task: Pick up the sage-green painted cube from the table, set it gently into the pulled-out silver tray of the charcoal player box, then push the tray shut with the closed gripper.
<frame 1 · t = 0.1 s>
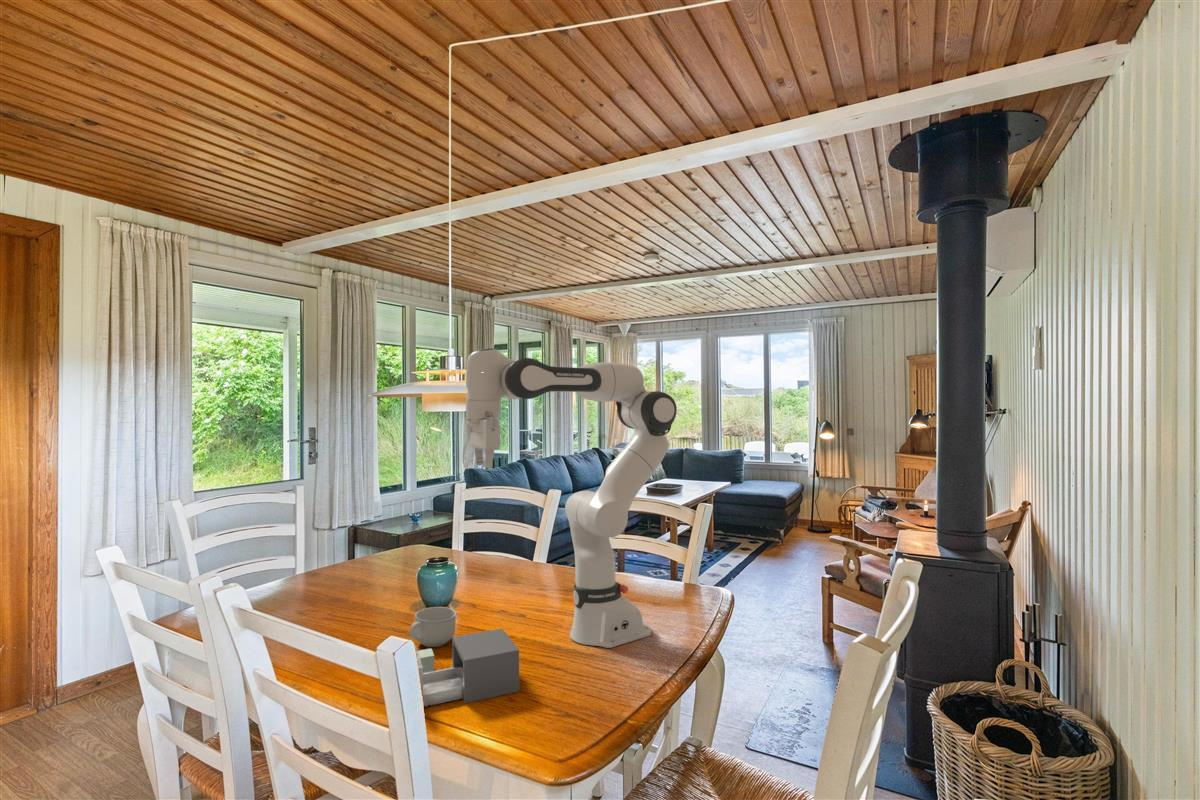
hand: (483, 466, 143), 48 cm above the table, fingers open, 8 cm apart
tray: (441, 671, 124), point 5 cm above the table, slide at 8.0 cm
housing: (484, 683, 128), on the table
teacup: (430, 645, 150), on the table
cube: (423, 672, 134), on the table
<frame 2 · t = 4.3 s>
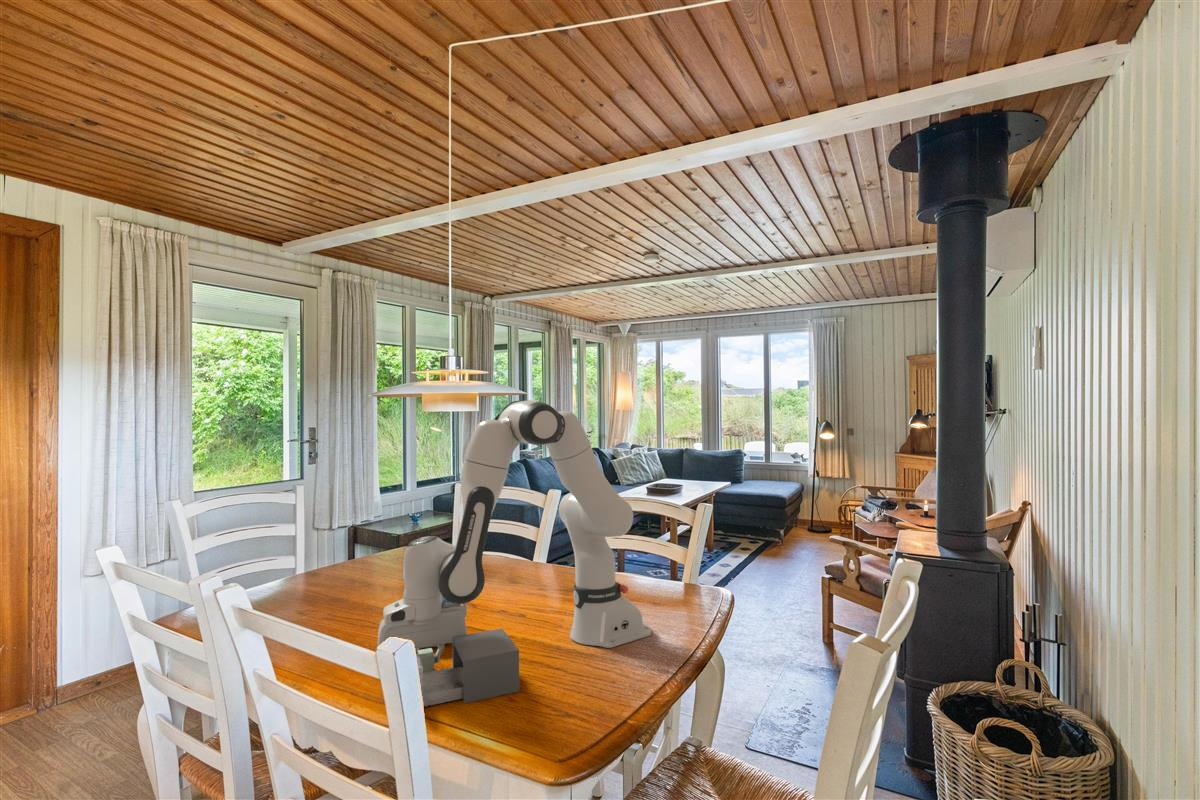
hand: (423, 664, 134), 2 cm above the table, fingers closed on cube, 4 cm apart
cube: (423, 672, 134), on the table, touching gripper
everything else where it was.
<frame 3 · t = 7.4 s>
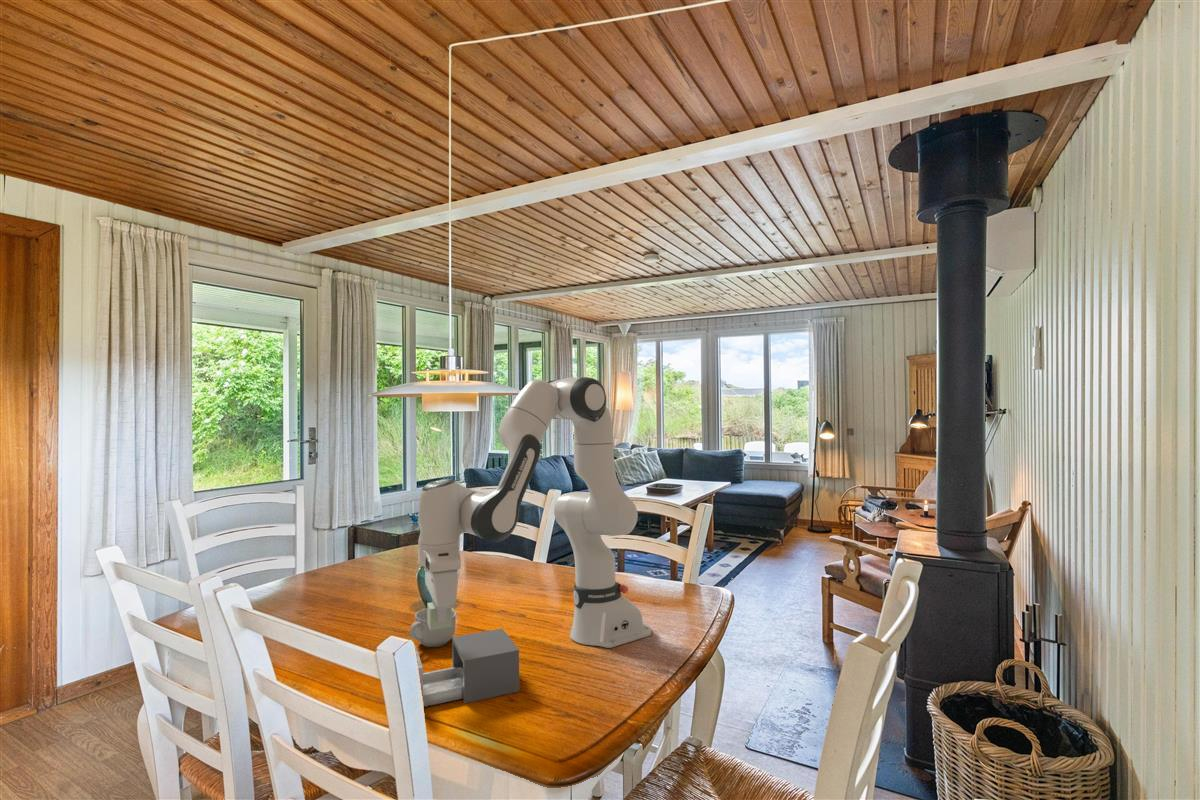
hand: (439, 617, 124), 16 cm above the table, fingers closed on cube, 4 cm apart
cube: (439, 625, 124), point 15 cm above the table, touching gripper
everything else where it was.
when the fingers open (5 cm above the table, at t = 10.2 s): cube drops 2 cm, resting on tray.
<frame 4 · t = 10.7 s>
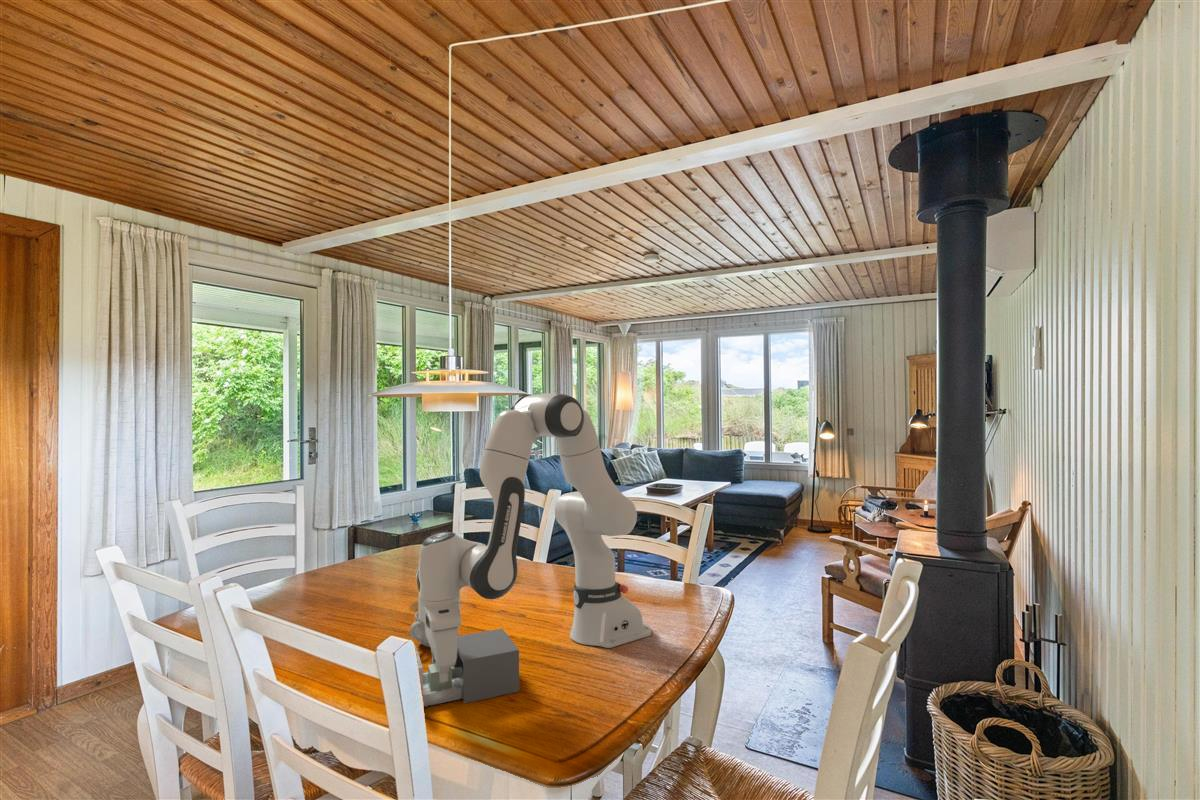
hand: (439, 671, 124), 5 cm above the table, fingers open, 8 cm apart
tray: (441, 671, 124), point 5 cm above the table, slide at 8.0 cm, touching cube
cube: (439, 687, 124), point 1 cm above the table, touching tray
everything else where it was.
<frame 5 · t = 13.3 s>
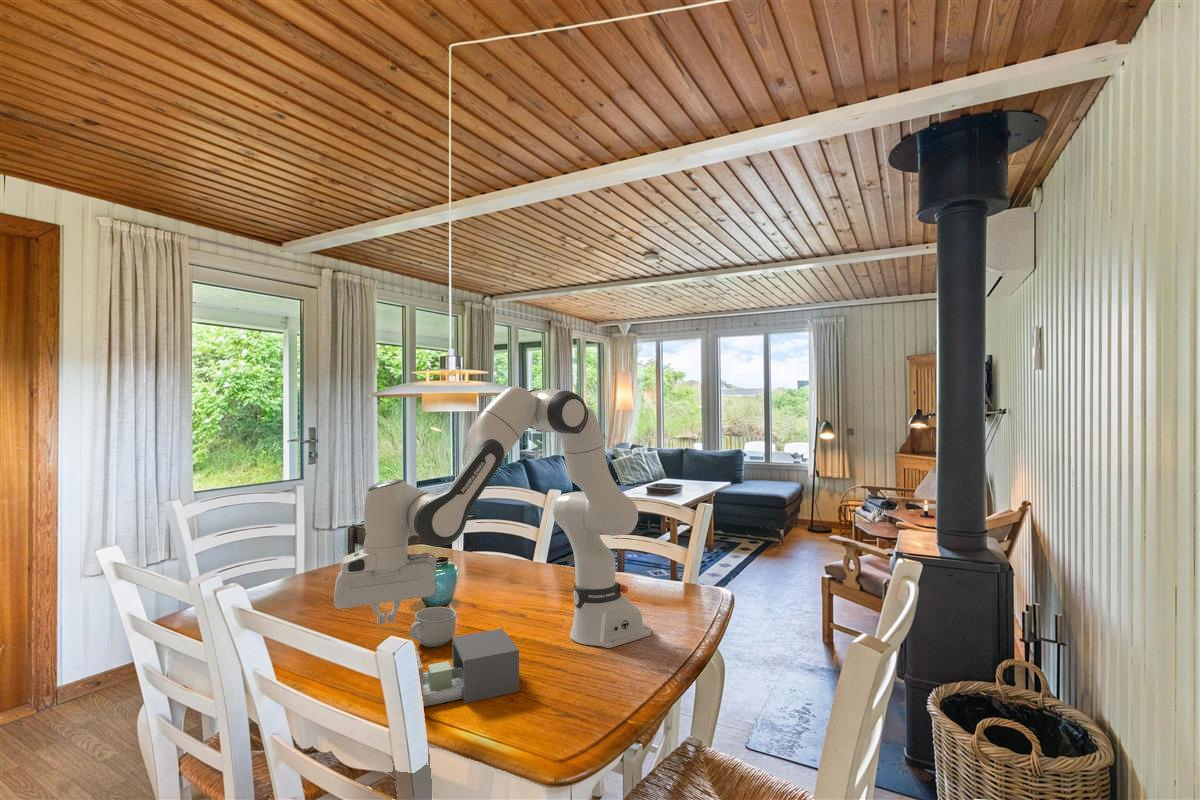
hand: (386, 622, 120), 17 cm above the table, fingers closed
nothing on the table moved.
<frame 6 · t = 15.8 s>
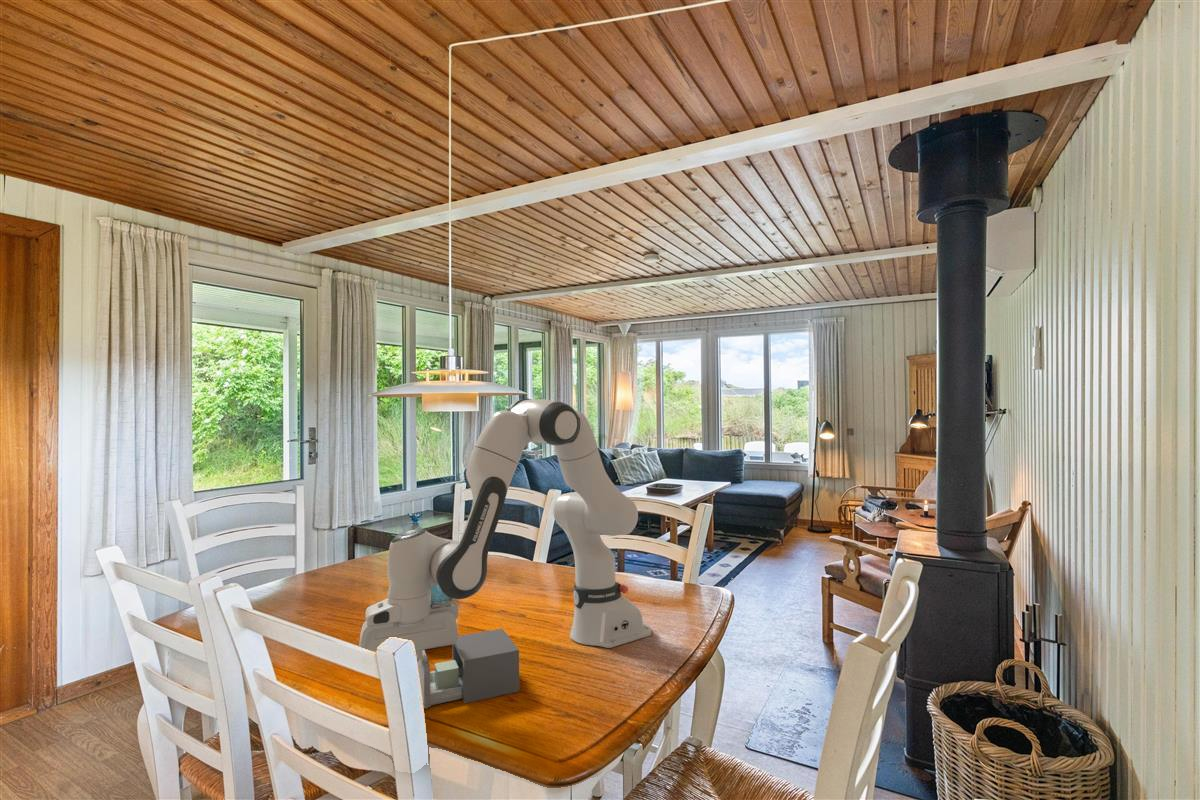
hand: (409, 671, 121), 6 cm above the table, fingers closed
tray: (448, 670, 125), point 5 cm above the table, slide at 6.6 cm, touching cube, gripper
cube: (446, 686, 124), point 1 cm above the table, touching tray
everything else where it was.
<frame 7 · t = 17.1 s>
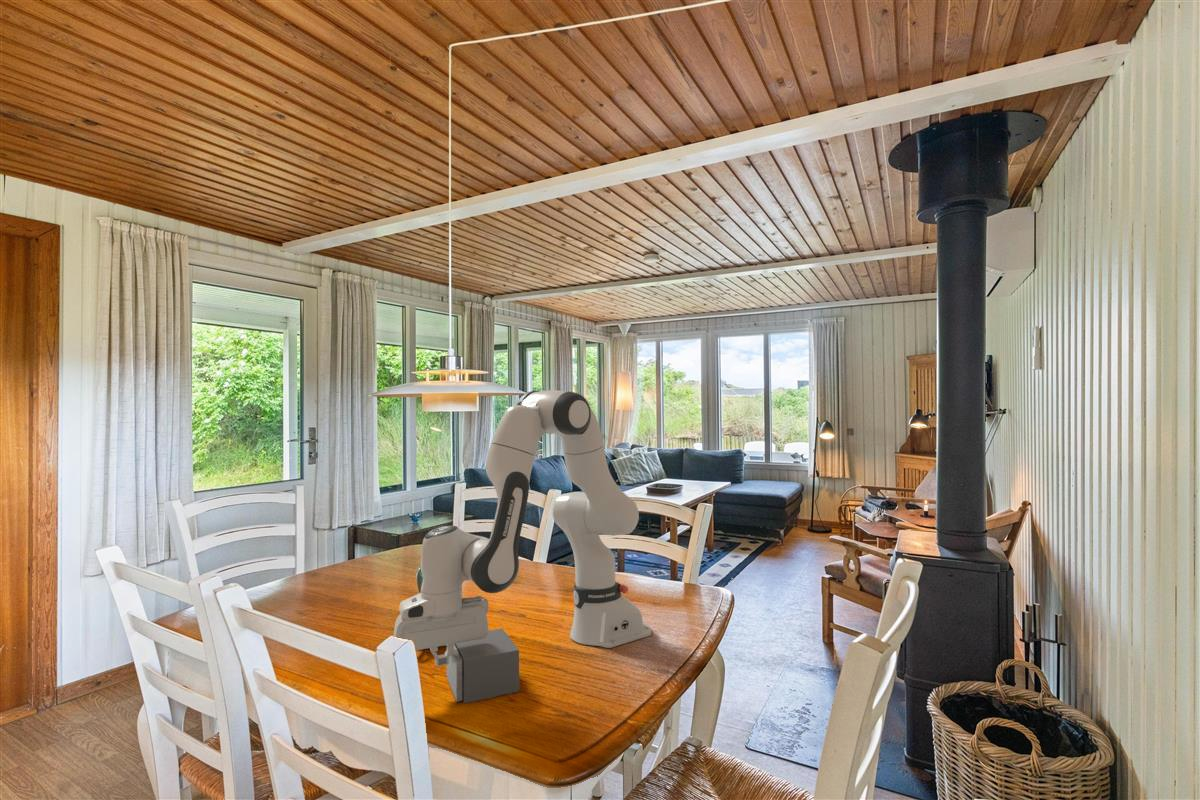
hand: (442, 664, 124), 6 cm above the table, fingers closed
tray: (478, 664, 127), point 5 cm above the table, slide at 0.0 cm, touching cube, gripper
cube: (476, 680, 127), point 1 cm above the table, touching tray
everything else where it was.
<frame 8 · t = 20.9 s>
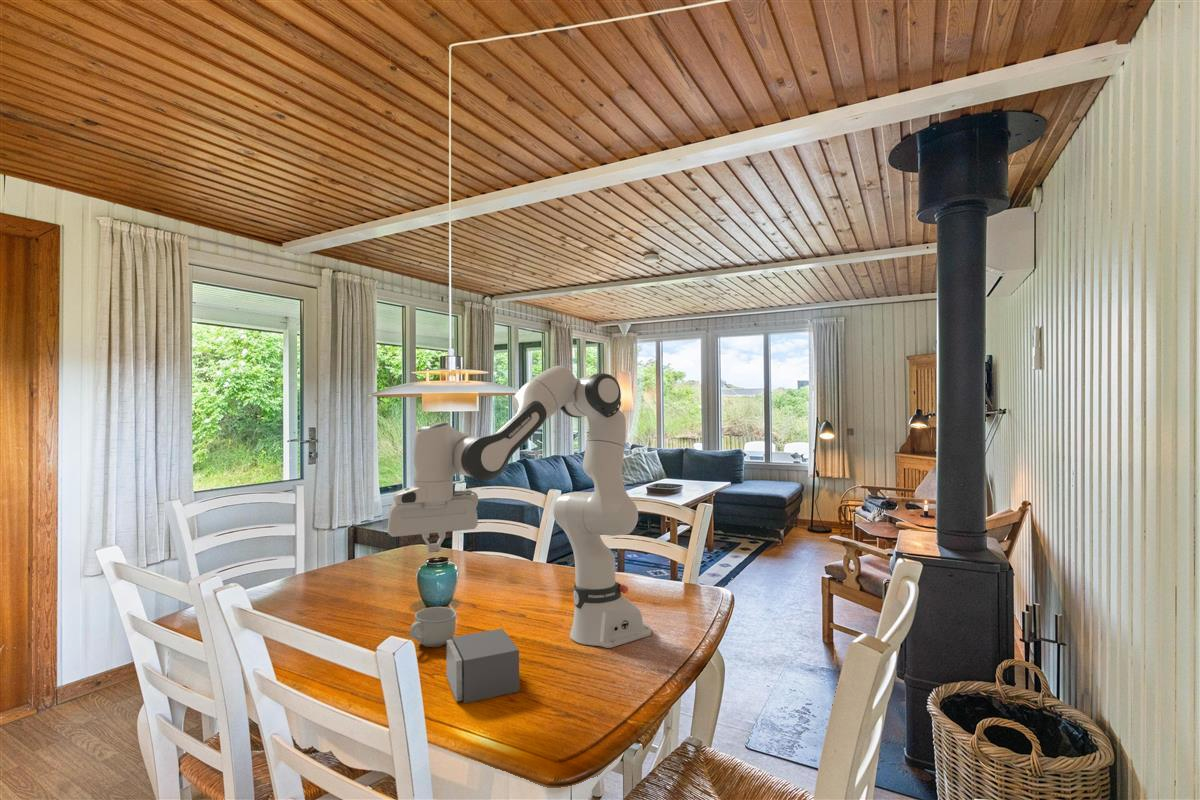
hand: (433, 551, 132), 29 cm above the table, fingers closed
tray: (478, 664, 127), point 5 cm above the table, slide at 0.0 cm, touching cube
everything else where it was.
at the end: tray slide at 0.0 cm; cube inside the target area (0.6 cm from its centre), point 1.1 cm above the table; the gripper is holding nothing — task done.
